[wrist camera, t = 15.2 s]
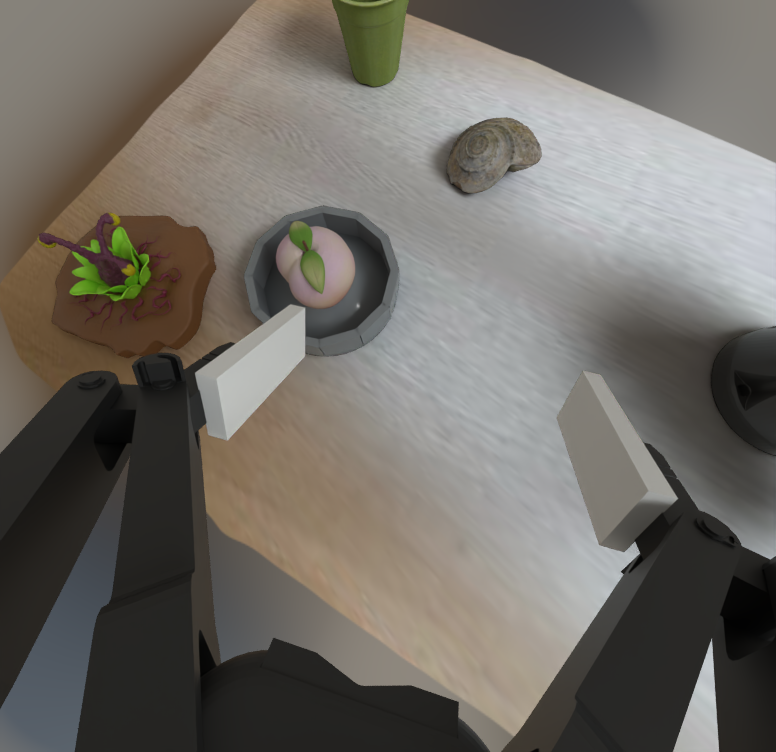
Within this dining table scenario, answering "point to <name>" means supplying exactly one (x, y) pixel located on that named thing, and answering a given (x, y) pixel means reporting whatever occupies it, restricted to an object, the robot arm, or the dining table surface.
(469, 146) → the fossilized seashell
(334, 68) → the dining table surface
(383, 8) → the plant pot
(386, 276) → the bowl
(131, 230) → the sprouting soil patch
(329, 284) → the decorative fruit
